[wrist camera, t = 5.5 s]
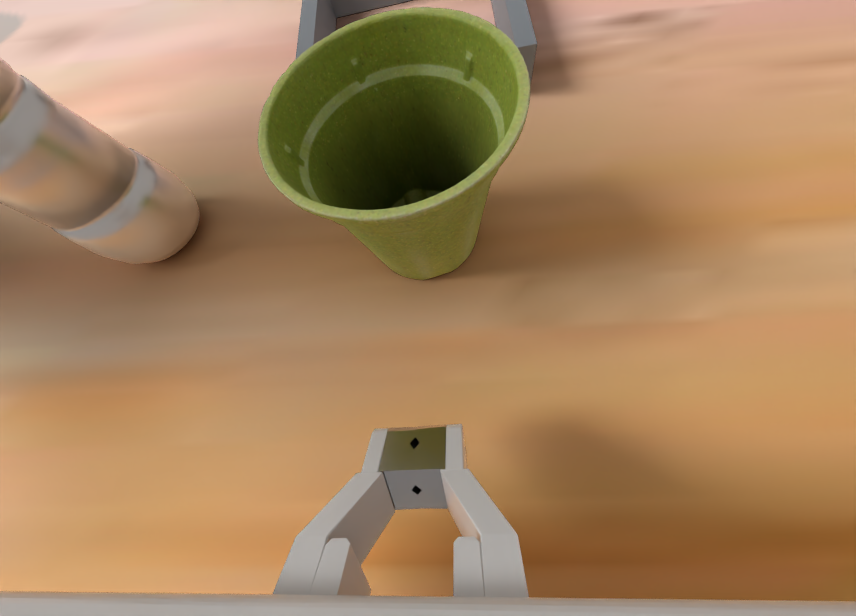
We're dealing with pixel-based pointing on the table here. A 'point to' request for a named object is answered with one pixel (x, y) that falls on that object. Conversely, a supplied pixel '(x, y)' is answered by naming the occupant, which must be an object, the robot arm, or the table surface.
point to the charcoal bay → (328, 3)
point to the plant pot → (399, 131)
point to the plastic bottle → (87, 180)
